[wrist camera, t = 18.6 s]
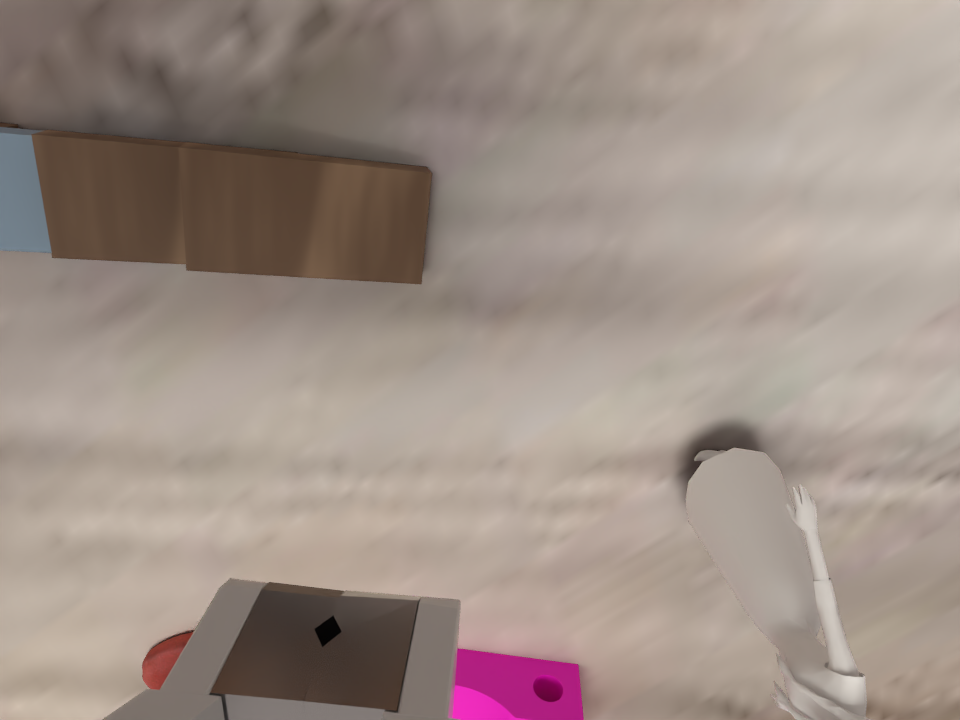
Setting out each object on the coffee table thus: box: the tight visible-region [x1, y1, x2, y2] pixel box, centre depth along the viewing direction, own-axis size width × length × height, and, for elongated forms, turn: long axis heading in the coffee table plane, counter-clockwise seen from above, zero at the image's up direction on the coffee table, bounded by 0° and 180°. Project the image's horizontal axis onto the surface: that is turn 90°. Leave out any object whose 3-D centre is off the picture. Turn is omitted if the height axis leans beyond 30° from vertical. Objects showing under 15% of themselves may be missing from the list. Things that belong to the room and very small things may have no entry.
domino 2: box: [31, 130, 298, 264], centre depth 28 cm, size 2×5×10 cm
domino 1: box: [0, 127, 52, 253], centre depth 28 cm, size 2×5×10 cm
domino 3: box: [178, 142, 432, 284], centre depth 28 cm, size 2×5×10 cm
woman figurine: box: [685, 448, 871, 720], centre depth 26 cm, size 12×4×18 cm, turn 8°
